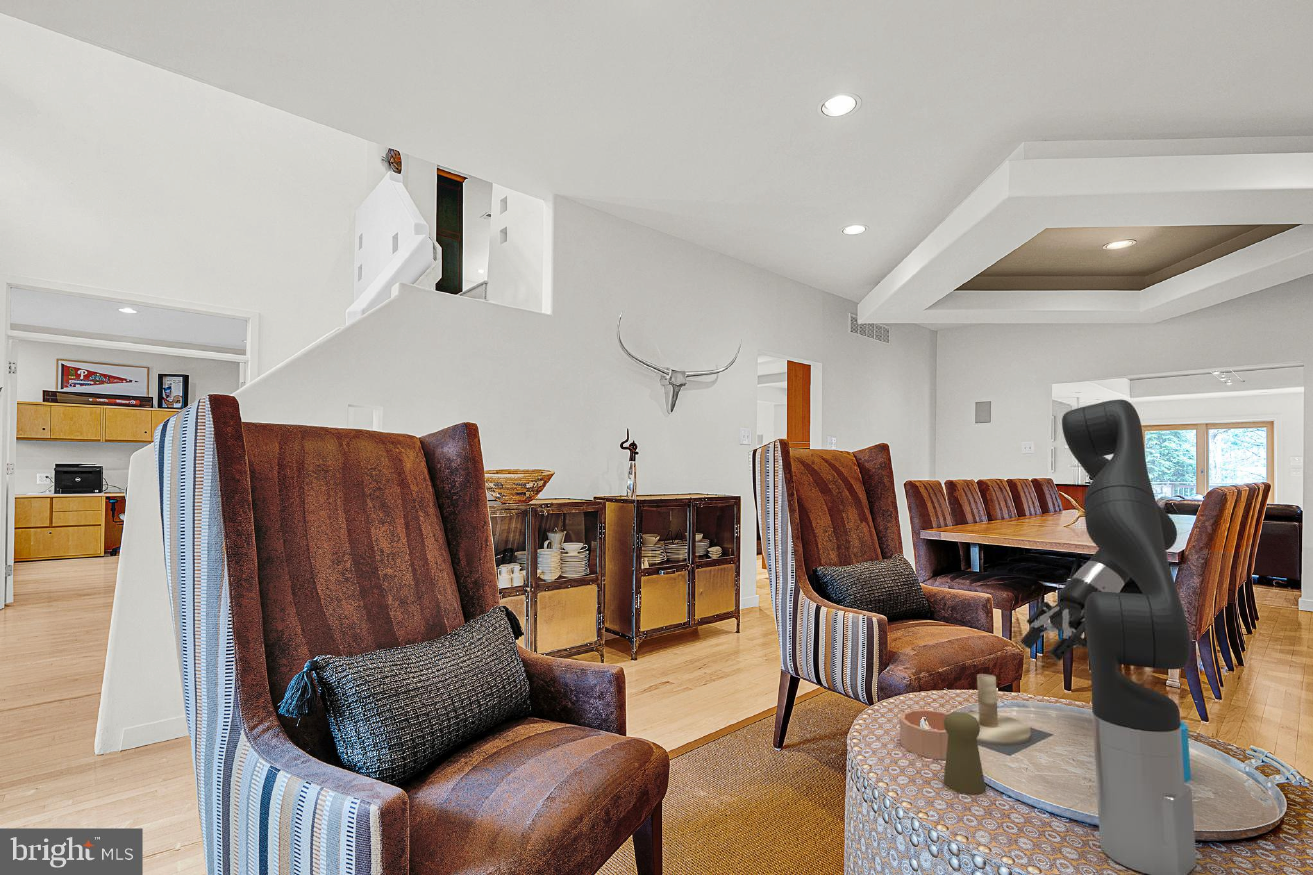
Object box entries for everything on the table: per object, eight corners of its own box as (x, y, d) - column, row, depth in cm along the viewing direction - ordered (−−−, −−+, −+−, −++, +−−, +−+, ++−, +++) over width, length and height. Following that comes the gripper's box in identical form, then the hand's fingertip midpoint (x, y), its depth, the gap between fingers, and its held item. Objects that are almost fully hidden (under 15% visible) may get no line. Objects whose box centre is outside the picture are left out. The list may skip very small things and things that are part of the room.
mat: (1053, 736, 121) (1053, 734, 121) (1010, 757, 112) (1009, 755, 112) (971, 712, 134) (971, 710, 134) (926, 729, 125) (926, 727, 125)
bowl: (980, 751, 115) (978, 722, 115) (944, 767, 109) (943, 736, 109) (924, 732, 124) (923, 705, 124) (888, 745, 118) (887, 717, 118)
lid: (1045, 733, 121) (1042, 678, 122) (1006, 752, 113) (1003, 692, 114) (973, 712, 133) (971, 662, 133) (934, 727, 125) (931, 674, 126)
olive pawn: (976, 777, 105) (973, 708, 106) (992, 795, 99) (988, 721, 100) (938, 776, 105) (935, 707, 106) (951, 794, 99) (948, 720, 100)
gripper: (1052, 571, 134) (1002, 629, 132) (1105, 582, 119) (1050, 647, 118) (1078, 596, 134) (1028, 654, 132) (1134, 610, 119) (1079, 675, 118)
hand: (1039, 651), depth 125 cm, fingers open, 8 cm apart
